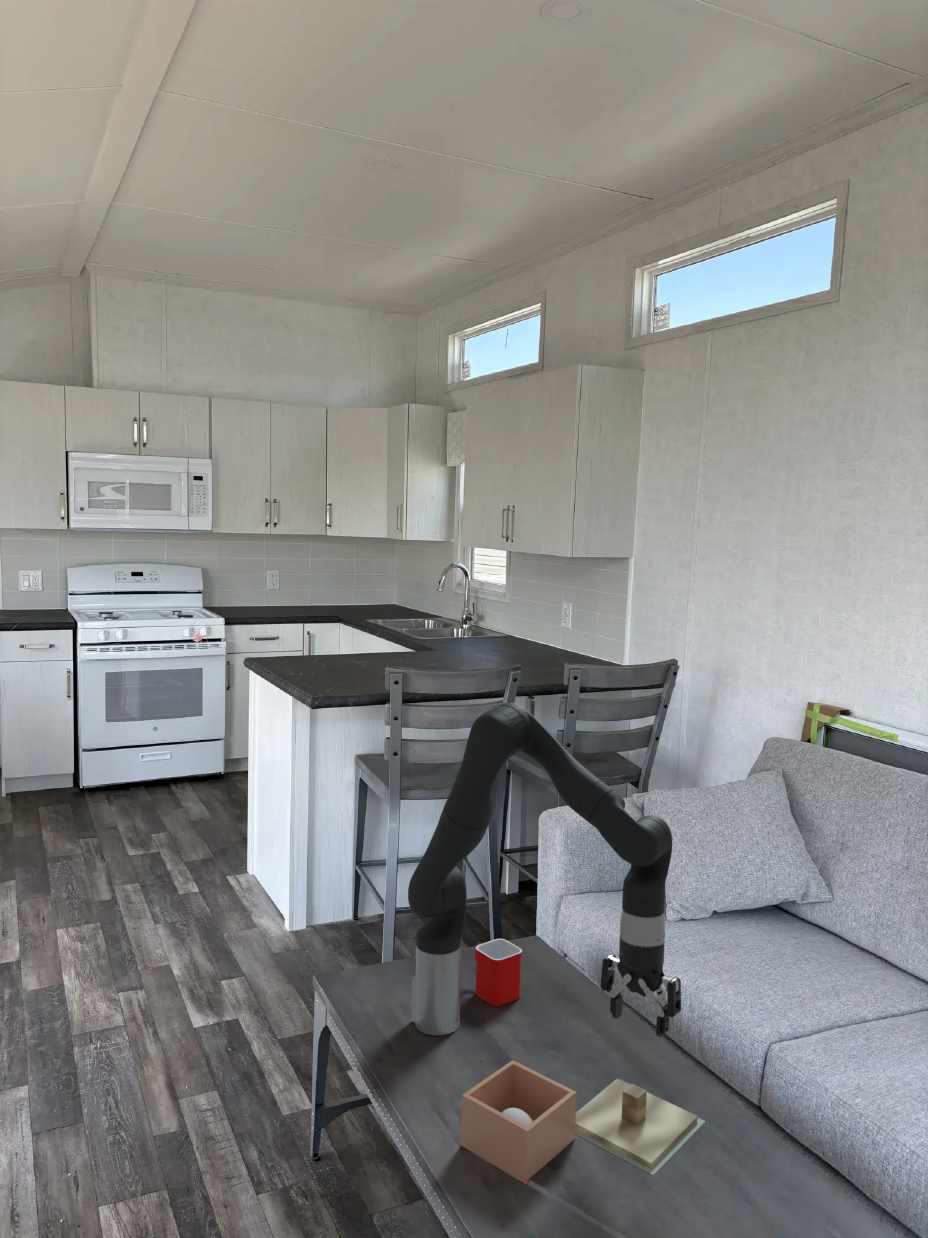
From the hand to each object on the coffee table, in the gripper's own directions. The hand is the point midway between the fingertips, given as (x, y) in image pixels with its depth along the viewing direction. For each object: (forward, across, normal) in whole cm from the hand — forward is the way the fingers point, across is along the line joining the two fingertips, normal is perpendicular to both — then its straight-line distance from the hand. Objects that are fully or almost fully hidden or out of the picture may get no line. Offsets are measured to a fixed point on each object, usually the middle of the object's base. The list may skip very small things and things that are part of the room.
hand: (638, 1025), depth 160 cm
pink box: (+18, -12, -17) cm, 28 cm away
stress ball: (+19, -12, -17) cm, 28 cm away
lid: (+18, 0, 0) cm, 18 cm away
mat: (+18, 0, 0) cm, 18 cm away
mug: (+18, -47, +19) cm, 54 cm away
